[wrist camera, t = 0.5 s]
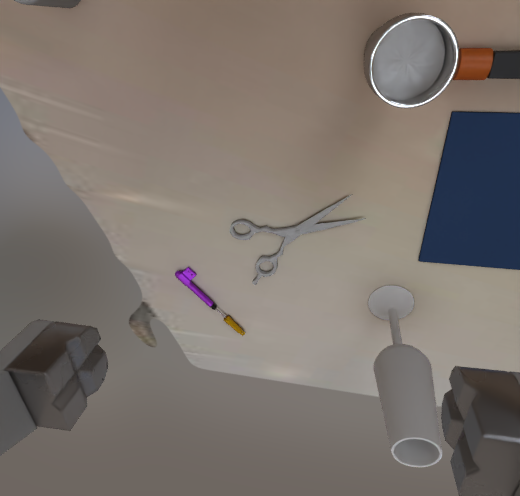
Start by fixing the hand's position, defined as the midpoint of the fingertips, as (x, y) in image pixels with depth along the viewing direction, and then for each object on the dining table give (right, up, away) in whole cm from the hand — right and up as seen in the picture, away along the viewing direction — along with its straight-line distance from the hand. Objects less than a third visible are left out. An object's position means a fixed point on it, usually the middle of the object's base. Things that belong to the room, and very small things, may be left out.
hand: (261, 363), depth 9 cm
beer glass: (+15, +24, +34) cm, 44 cm away
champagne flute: (+20, -6, +50) cm, 54 cm away
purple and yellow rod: (-8, -6, +56) cm, 57 cm away
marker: (+28, +22, +32) cm, 48 cm away
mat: (+29, +9, +39) cm, 49 cm away
